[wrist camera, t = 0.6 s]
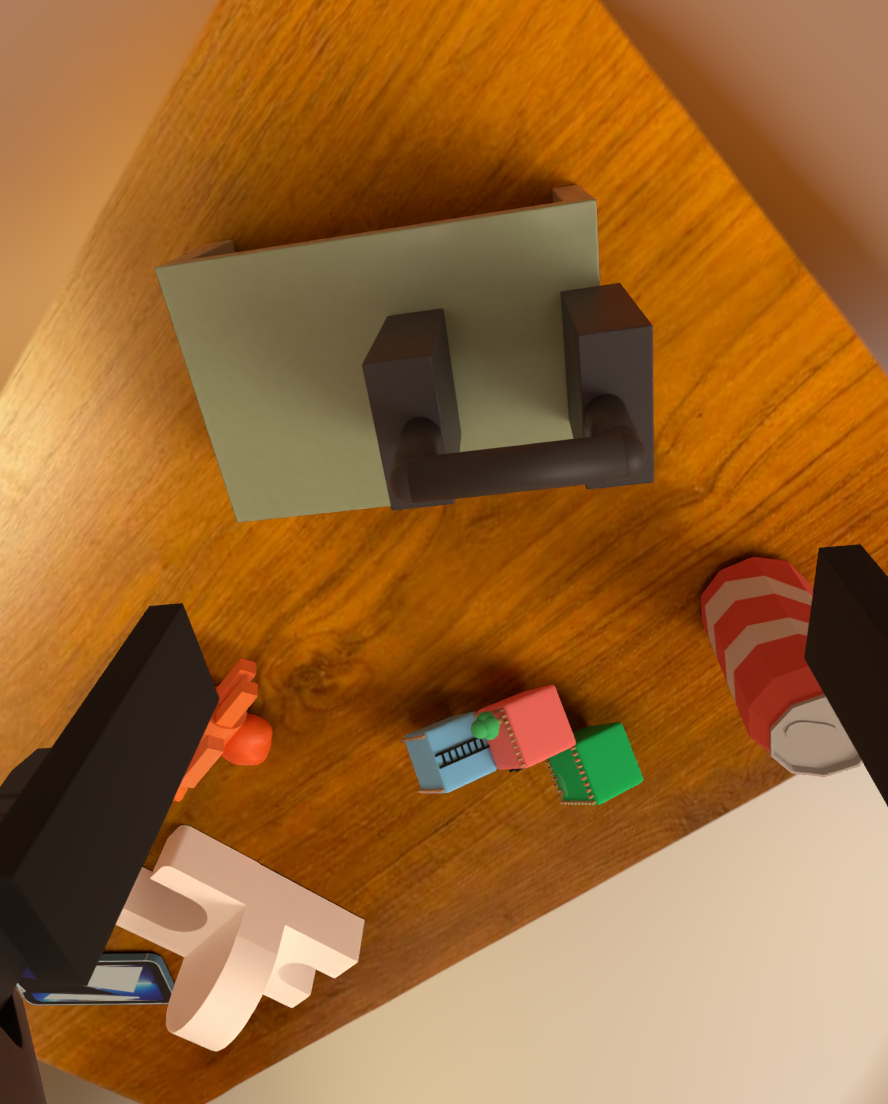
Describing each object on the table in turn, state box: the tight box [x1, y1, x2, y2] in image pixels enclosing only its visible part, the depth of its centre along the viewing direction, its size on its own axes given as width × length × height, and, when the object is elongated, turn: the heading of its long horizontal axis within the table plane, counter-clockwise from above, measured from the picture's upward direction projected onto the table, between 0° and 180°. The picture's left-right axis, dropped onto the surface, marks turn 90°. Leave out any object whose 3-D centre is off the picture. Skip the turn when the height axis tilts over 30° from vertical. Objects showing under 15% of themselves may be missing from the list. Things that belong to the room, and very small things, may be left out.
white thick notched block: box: [116, 825, 364, 1051], centre depth 58 cm, size 18×10×11 cm, turn 50°
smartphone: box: [16, 953, 174, 1005], centre depth 70 cm, size 7×1×15 cm
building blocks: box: [400, 685, 643, 805], centre depth 48 cm, size 8×8×12 cm
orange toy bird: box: [173, 658, 273, 802], centre depth 50 cm, size 5×8×12 cm
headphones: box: [362, 283, 654, 510], centre depth 27 cm, size 6×10×11 cm, turn 98°
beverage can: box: [701, 557, 863, 777], centre depth 40 cm, size 6×6×12 cm
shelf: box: [155, 185, 600, 522], centre depth 35 cm, size 12×18×7 cm, turn 98°
